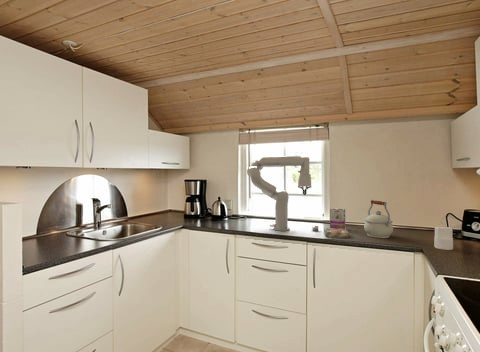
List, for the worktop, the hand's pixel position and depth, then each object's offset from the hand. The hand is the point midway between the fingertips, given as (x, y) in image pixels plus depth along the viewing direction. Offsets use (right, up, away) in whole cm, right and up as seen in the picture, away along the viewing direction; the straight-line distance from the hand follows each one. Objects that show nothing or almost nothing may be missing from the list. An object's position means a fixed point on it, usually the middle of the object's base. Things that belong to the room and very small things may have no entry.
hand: (304, 194), depth 225 cm
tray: (+16, -26, -25) cm, 39 cm away
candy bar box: (+26, -27, -1) cm, 38 cm away
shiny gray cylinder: (+6, -27, -9) cm, 29 cm away
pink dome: (+17, -25, -25) cm, 39 cm away
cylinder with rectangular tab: (+69, -28, -59) cm, 95 cm away
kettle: (+46, -27, -26) cm, 59 cm away
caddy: (+17, -27, -25) cm, 41 cm away
